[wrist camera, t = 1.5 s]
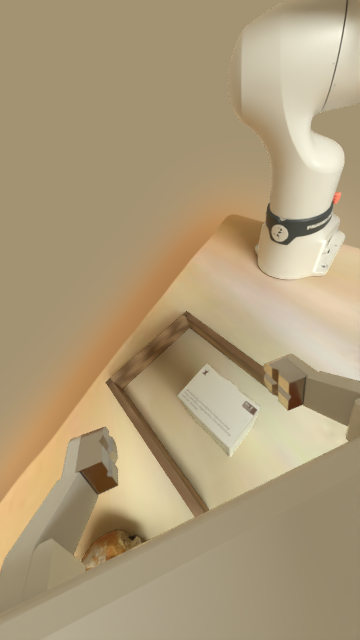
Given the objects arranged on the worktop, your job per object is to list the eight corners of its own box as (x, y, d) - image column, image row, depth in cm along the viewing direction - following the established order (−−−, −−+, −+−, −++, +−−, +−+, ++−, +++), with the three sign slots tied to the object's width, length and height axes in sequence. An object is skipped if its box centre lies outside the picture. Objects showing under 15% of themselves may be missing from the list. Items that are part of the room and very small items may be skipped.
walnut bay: (190, 321, 50) (186, 311, 47) (295, 401, 35) (300, 394, 32) (115, 388, 44) (105, 382, 41) (203, 517, 30) (198, 522, 27)
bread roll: (105, 536, 34) (53, 561, 28) (147, 510, 31) (100, 533, 25) (118, 635, 28) (56, 694, 22) (172, 614, 25) (117, 676, 19)
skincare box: (193, 419, 37) (171, 395, 26) (215, 393, 39) (204, 359, 27) (232, 459, 33) (227, 452, 21) (255, 428, 34) (262, 404, 23)
